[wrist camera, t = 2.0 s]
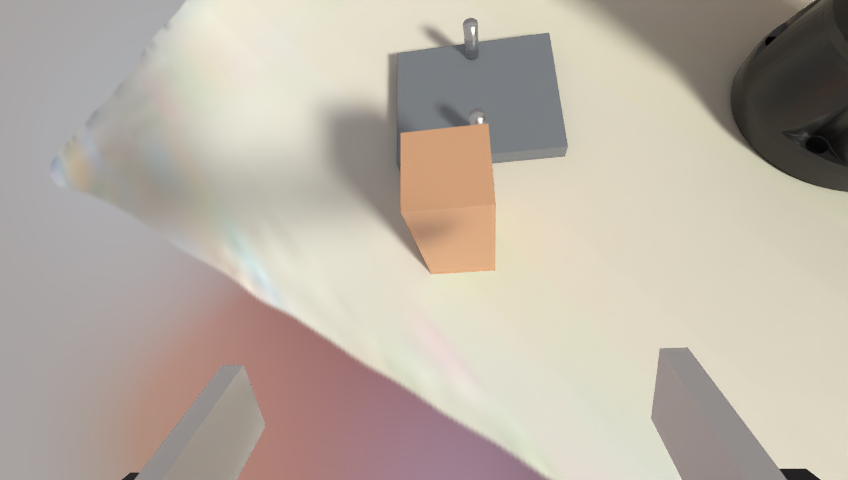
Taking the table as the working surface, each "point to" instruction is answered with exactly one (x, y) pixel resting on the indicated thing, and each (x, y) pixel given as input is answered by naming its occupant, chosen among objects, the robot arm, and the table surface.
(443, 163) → the case
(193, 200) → the table surface
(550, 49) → the pin tray
